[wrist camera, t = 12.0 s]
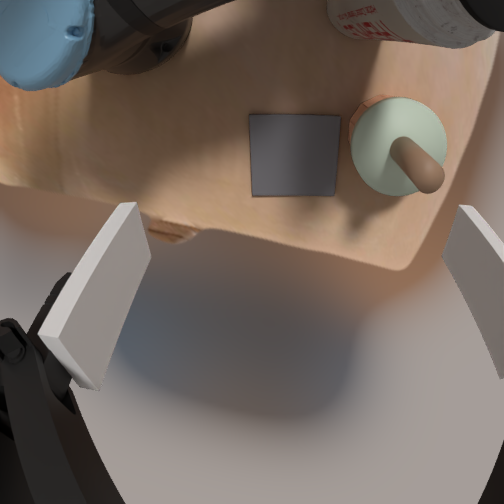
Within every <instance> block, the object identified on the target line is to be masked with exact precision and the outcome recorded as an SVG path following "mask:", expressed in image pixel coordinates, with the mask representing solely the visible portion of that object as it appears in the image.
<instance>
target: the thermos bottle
mask: <svg viewBox="0 0 504 504" xmlns="http://www.w3.org/2000/svg"><path fill="white" fill-rule="evenodd" d="M327 14H328V17H329V19H330V21H331V23H332V24H333V25H334V27H335V28H336V29H337V30H338V31H340V32H341V33H342V34H344V35H346V36H348V37H351V38H354V39H365V40H385V41H398V42H409V43H418V44H426V45H433V46H440V47H446V48H452V49H456V48H465V47H468V46H471V45H473V44H474V43H476V42H477V41H481V40H485V39H487V38H488V37H490V36H491V35H492V34H493V33H494V32H495V31H501V32H504V0H328V2H327Z"/></svg>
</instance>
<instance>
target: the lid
mask: <svg viewBox="0 0 504 504" xmlns="http://www.w3.org/2000/svg"><path fill="white" fill-rule="evenodd" d="M350 149H351V156H352V160H353V163H354V165H355V167H356V169H357V171H358V173H359V174H360V176H361V178H362V179H363V180H364V182H365V183H366V184H367V185H368V186H370V187H371V188H372V189H374V190H376V191H377V192H380V193H382V194H385V195H389V196H405V195H409V194H413V193H415V192H418V191H421V192H422V193H426V194H429V193H433V192H435V191H437V190H438V189H439V188H440V187H441V185H442V184H443V182H444V177H445V174H444V170H443V168H442V166H443V163H444V161H445V157H446V151H447V140H446V134H445V130H444V128H443V125H442V123H441V121H440V120H439V118H438V117H437V115H436V114H435V113H434V112H433V111H432V110H431V109H429V108H428V107H427V106H425V105H423V104H421V103H420V102H418V101H416V100H413V99H410V98H406V97H390V98H386V99H383V100H380V101H378V102H376V103H374V104H373V105H371V106H370V107H369V108H368V109H367V110H365V111H364V112H363V114H362V115H361V116H360V117H359V119H358V121H357V122H356V124H355V127H354V129H353V132H352V136H351V147H350Z"/></svg>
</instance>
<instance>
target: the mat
mask: <svg viewBox="0 0 504 504" xmlns="http://www.w3.org/2000/svg"><path fill="white" fill-rule="evenodd" d="M340 121H341V117H340V116H331V115H307V114H249V124H250V148H251V172H252V195H307V196H334V194H335V184H336V173H337V162H338V150H339V136H340Z"/></svg>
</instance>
